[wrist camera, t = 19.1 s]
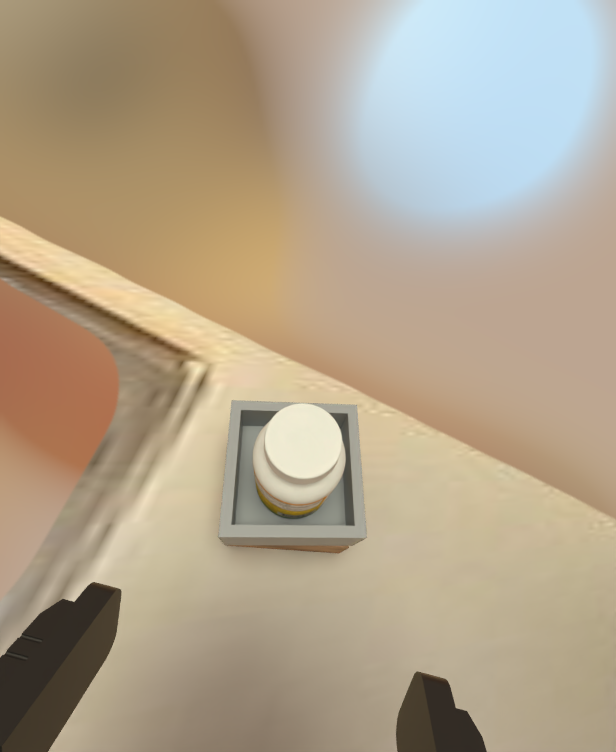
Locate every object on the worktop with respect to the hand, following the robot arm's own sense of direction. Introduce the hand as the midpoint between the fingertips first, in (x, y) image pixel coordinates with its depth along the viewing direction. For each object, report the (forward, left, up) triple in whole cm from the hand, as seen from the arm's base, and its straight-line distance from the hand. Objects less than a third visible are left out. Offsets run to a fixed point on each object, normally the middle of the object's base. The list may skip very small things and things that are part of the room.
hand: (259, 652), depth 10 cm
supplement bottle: (-1, -9, -16) cm, 18 cm away
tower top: (-1, -9, -17) cm, 20 cm away
